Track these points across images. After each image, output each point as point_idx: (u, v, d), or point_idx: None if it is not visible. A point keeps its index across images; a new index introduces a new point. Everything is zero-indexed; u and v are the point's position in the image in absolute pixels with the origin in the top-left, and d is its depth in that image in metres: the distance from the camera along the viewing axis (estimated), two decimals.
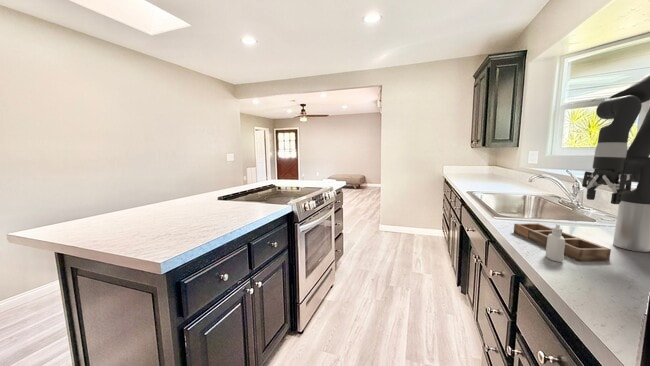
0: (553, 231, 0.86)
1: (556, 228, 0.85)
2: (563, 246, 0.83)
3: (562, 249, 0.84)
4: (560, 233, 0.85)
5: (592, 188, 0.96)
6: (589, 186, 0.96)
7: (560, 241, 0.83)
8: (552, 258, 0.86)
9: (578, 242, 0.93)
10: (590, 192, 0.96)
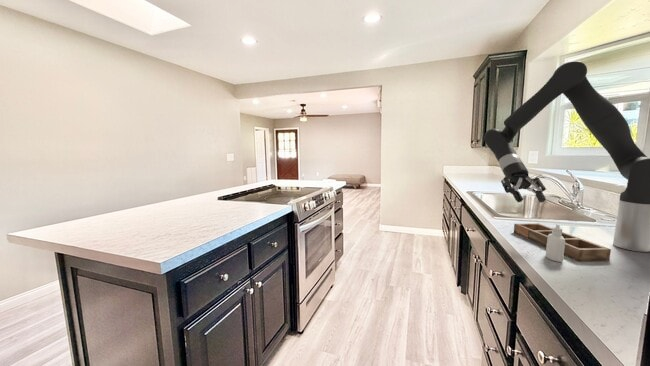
0: (553, 231, 0.86)
1: (556, 228, 0.85)
2: (563, 246, 0.83)
3: (562, 249, 0.84)
4: (560, 233, 0.85)
5: (536, 192, 0.98)
6: None
7: (560, 241, 0.83)
8: (552, 258, 0.86)
9: (578, 242, 0.93)
10: (537, 196, 0.98)
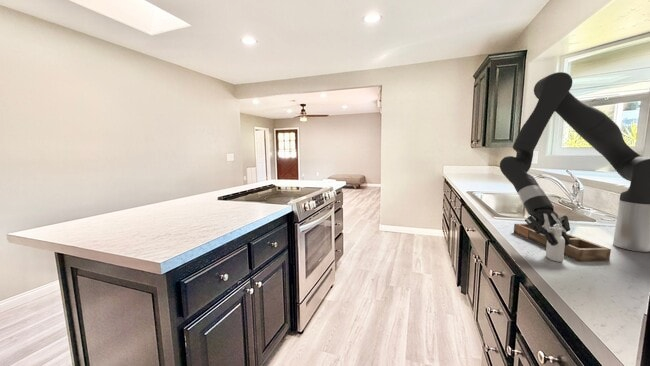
0: (553, 231, 0.86)
1: (556, 228, 0.85)
2: (563, 246, 0.83)
3: (562, 249, 0.84)
4: (560, 233, 0.85)
5: None
6: None
7: (560, 241, 0.83)
8: (552, 258, 0.86)
9: (578, 242, 0.93)
10: None
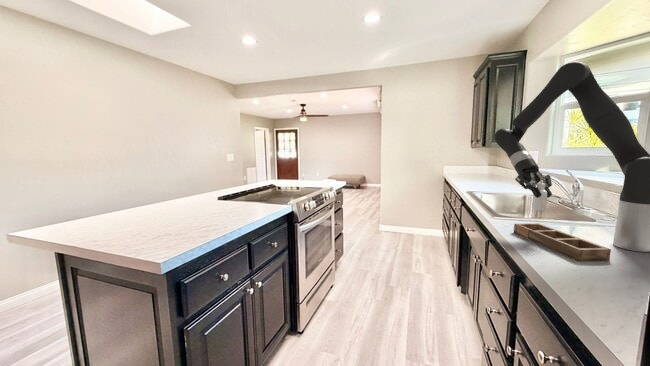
0: (538, 186, 1.04)
1: (540, 183, 1.03)
2: (545, 197, 1.01)
3: (545, 200, 1.02)
4: (543, 187, 1.03)
5: None
6: None
7: (543, 193, 1.01)
8: (537, 208, 1.04)
9: (578, 242, 0.93)
10: None
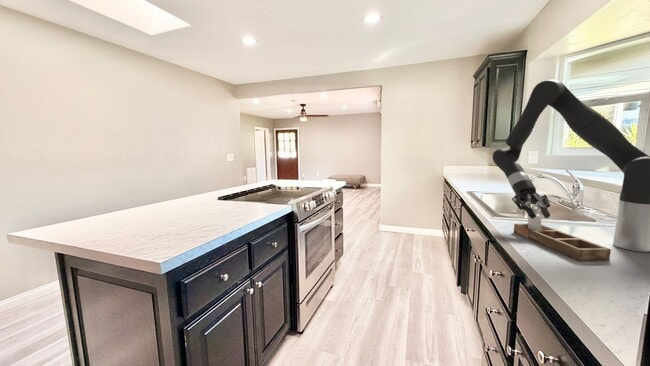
0: None
1: (532, 208, 1.07)
2: (540, 221, 1.05)
3: (539, 224, 1.05)
4: (536, 211, 1.06)
5: (541, 208, 1.08)
6: None
7: (536, 218, 1.05)
8: None
9: (578, 242, 0.93)
10: (542, 212, 1.07)
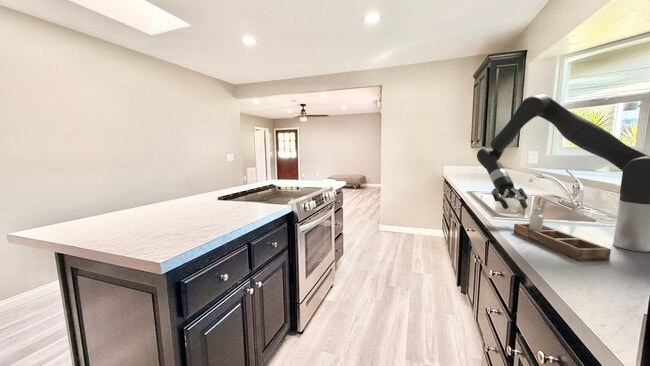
0: (534, 211, 1.07)
1: (536, 208, 1.06)
2: (541, 222, 1.05)
3: (541, 225, 1.05)
4: (539, 212, 1.06)
5: (520, 200, 1.21)
6: None
7: (539, 218, 1.05)
8: None
9: (578, 242, 0.93)
10: (520, 203, 1.21)
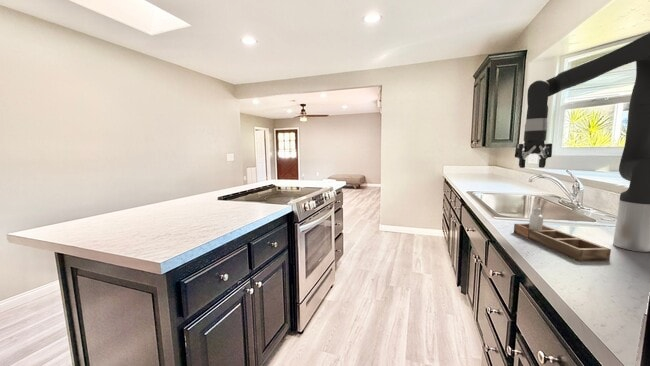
0: (534, 211, 1.07)
1: (536, 208, 1.06)
2: (541, 222, 1.05)
3: (541, 225, 1.05)
4: (539, 212, 1.06)
5: (541, 157, 1.12)
6: None
7: (539, 218, 1.05)
8: None
9: (578, 242, 0.93)
10: (539, 161, 1.13)
